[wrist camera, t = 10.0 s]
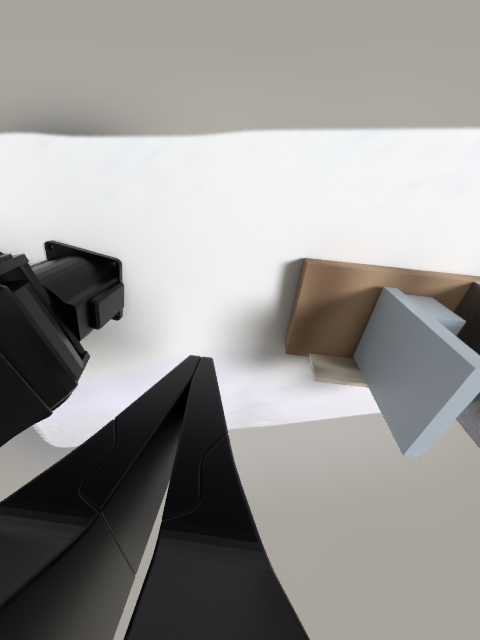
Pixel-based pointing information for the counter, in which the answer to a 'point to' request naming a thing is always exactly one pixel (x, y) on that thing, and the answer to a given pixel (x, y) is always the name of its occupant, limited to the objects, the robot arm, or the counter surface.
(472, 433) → the brushed steel plate
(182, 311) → the counter surface
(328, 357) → the gauge frame
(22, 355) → the robot arm
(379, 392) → the pale blue shelf board
